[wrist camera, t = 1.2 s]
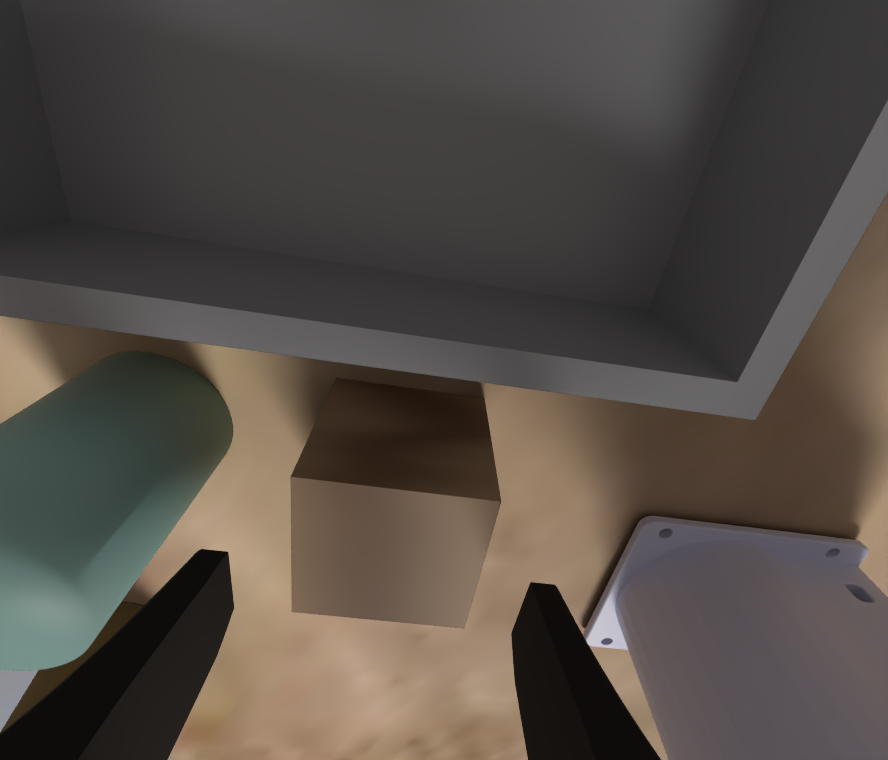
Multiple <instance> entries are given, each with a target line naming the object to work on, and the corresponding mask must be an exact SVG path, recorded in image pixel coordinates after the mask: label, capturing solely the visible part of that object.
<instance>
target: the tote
mask: <svg viewBox="0 0 888 760" xmlns="http://www.w3.org/2000/svg"><path fill="white" fill-rule="evenodd" d="M887 193H888V0H0V316H7V317H14V318H21V319H29V320H36V321H43V322H50V323H57V324H65V325H72V326H79V327H86V328H94V329H101V330H108V331H115V332H122V333H130V334H137V335H144V336H151V337H159V338H166V339H173V340H180V341H187V342H195V343H202V344H209V345H216V346H224V347H231V348H238V349H245V350H252V351H260V352H267V353H274V354H281V355H288V356H296V357H303V358H310V359H317V360H325V361H332V362H339V363H346V364H353V365H361V366H368V367H375V368H382V369H390V370H397V371H404V372H411V373H418V374H426V375H433V376H440V377H447V378H455V379H462V380H469V381H476V382H483V383H491V384H498V385H505V386H512V387H520V388H527V389H534V390H541V391H548V392H556V393H563V394H570V395H577V396H585V397H592V398H599V399H606V400H613V401H621V402H628V403H635V404H642V405H649V406H657V407H664V408H671V409H678V410H686V411H693V412H700V413H707V414H714V415H722V416H729V417H736V418H743V419H751V420H756V418H757V416H758V415H759V413H760V411H761V409H762V408H763V406H764V404H765V403H766V401H767V399H768V397H769V396H770V394H771V392H772V391H773V389H774V387H775V385H776V384H777V382H778V380H779V378H780V377H781V375H782V373H783V372H784V370H785V368H786V366H787V365H788V363H789V361H790V360H791V358H792V356H793V354H794V353H795V351H796V349H797V348H798V346H799V344H800V342H801V341H802V339H803V337H804V335H805V334H806V332H807V330H808V329H809V327H810V325H811V323H812V322H813V320H814V318H815V317H816V315H817V313H818V311H819V310H820V308H821V306H822V304H823V303H824V301H825V299H826V298H827V296H828V294H829V292H830V291H831V289H832V287H833V286H834V284H835V282H836V280H837V279H838V277H839V275H840V274H841V272H842V270H843V268H844V267H845V265H846V263H847V261H848V260H849V258H850V256H851V255H852V253H853V251H854V249H855V248H856V246H857V244H858V243H859V241H860V239H861V237H862V236H863V234H864V232H865V230H866V229H867V227H868V225H869V224H870V222H871V220H872V218H873V217H874V215H875V213H876V212H877V210H878V208H879V206H880V205H881V203H882V201H883V200H884V198H885V196H886V194H887Z"/></svg>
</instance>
